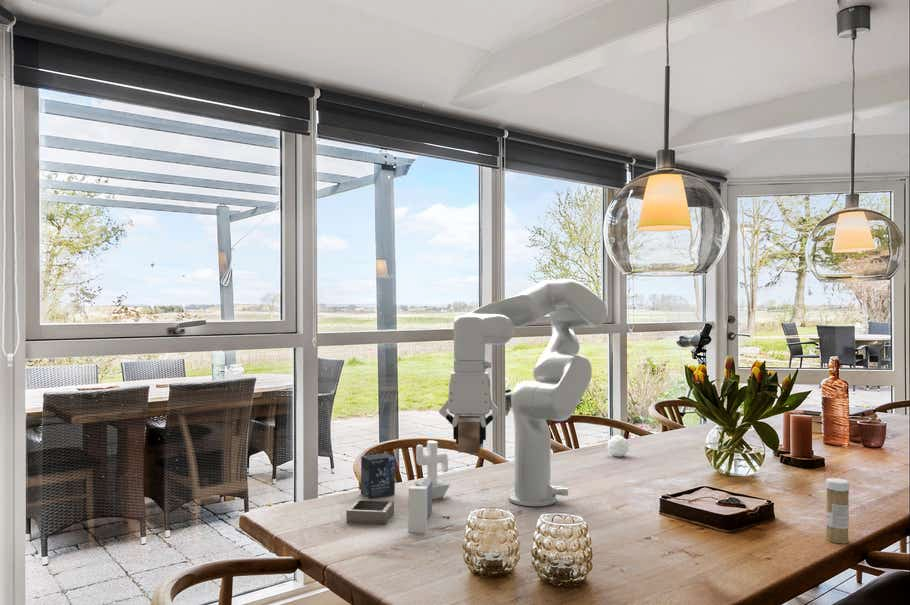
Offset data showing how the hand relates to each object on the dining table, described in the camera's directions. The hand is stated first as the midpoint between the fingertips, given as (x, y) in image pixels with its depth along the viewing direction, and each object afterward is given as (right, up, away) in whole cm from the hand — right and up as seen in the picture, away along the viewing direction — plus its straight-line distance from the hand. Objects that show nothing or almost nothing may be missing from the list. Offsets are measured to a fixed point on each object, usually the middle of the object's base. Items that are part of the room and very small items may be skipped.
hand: (469, 442), depth 162 cm
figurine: (-10, -19, +21) cm, 30 cm away
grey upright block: (-11, -19, +1) cm, 22 cm away
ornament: (+53, -20, +71) cm, 91 cm away
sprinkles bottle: (+81, -20, -12) cm, 84 cm away
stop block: (0, -2, 0) cm, 2 cm away
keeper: (-24, -19, +3) cm, 31 cm away
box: (-25, -19, +23) cm, 39 cm away
